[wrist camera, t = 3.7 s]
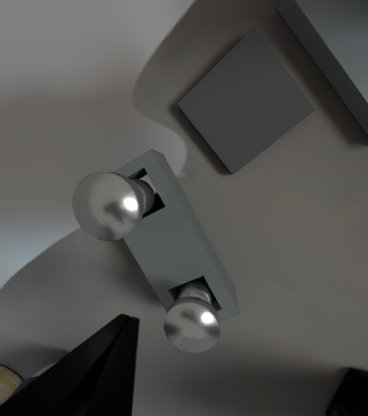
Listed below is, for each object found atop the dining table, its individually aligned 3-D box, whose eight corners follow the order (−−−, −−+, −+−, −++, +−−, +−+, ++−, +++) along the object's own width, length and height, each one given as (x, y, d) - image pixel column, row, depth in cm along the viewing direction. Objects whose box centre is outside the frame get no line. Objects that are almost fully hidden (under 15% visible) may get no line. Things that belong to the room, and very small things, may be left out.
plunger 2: (211, 310, 16) (211, 359, 12) (172, 298, 16) (159, 342, 12) (221, 275, 15) (226, 314, 11) (180, 263, 15) (169, 298, 11)
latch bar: (234, 287, 17) (239, 313, 14) (184, 305, 18) (179, 333, 15) (163, 153, 15) (151, 148, 12) (114, 183, 16) (92, 185, 13)
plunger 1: (156, 225, 13) (132, 248, 9) (112, 213, 14) (70, 231, 10) (165, 178, 13) (142, 180, 8) (118, 167, 13) (75, 165, 9)
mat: (231, 174, 15) (232, 174, 14) (178, 107, 14) (176, 103, 14) (308, 113, 13) (314, 109, 12) (251, 36, 13) (254, 27, 12)
